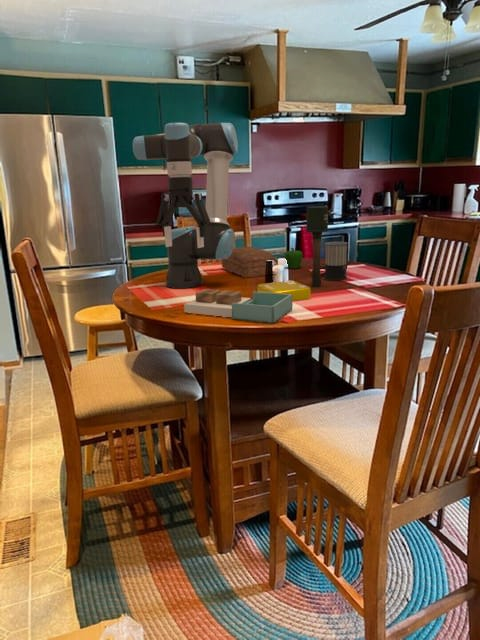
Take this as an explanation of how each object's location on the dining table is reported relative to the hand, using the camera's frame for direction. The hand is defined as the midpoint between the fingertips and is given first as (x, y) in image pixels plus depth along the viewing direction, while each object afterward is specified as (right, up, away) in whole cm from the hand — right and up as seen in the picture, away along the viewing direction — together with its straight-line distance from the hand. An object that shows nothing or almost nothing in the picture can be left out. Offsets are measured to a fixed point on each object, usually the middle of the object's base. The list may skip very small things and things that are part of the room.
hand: (184, 247), depth 154 cm
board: (+11, -20, +1) cm, 23 cm away
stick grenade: (+48, -11, +30) cm, 57 cm away
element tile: (+34, -16, +16) cm, 40 cm away
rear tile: (+8, -17, +1) cm, 19 cm away
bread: (+22, -2, +66) cm, 69 cm away
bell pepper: (+43, +1, +70) cm, 82 cm away
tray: (+25, -22, -6) cm, 34 cm away
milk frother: (+55, -6, +46) cm, 72 cm away
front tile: (+14, -18, -2) cm, 23 cm away
